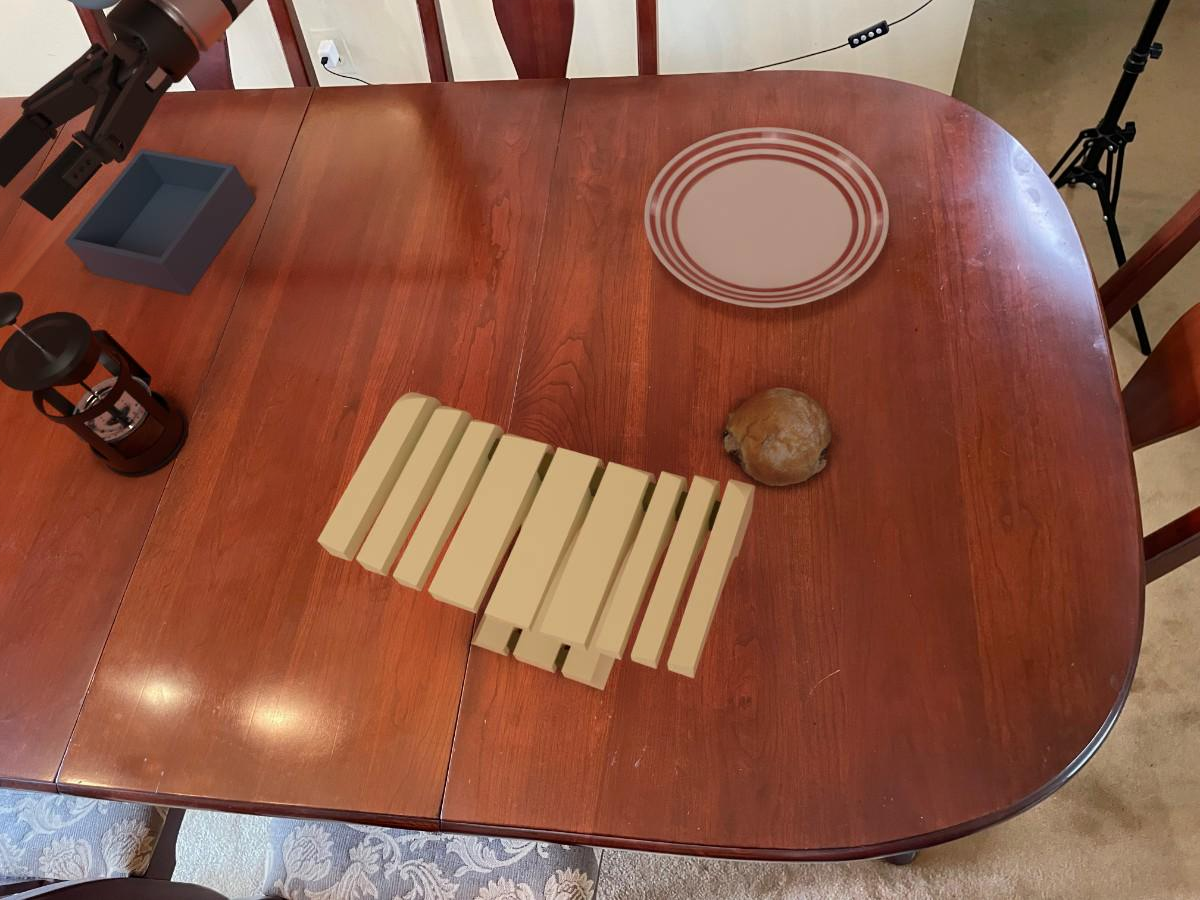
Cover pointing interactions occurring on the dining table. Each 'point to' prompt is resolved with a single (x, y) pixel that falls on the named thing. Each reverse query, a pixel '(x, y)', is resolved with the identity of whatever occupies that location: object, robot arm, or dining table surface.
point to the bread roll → (779, 436)
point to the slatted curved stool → (541, 539)
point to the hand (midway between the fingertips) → (11, 192)
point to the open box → (162, 221)
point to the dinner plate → (766, 217)
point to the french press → (109, 409)
